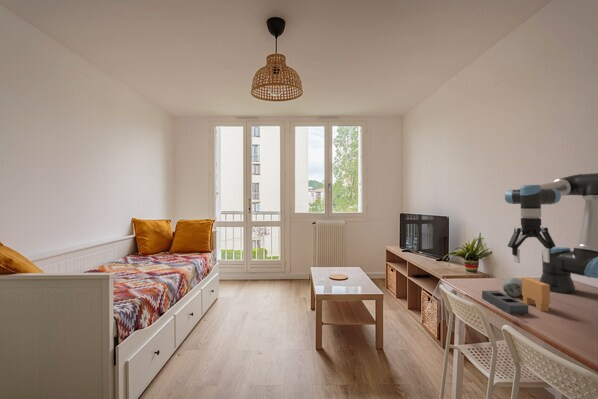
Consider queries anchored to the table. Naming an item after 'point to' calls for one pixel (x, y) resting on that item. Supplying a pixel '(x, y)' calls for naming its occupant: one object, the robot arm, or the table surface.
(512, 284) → the spool
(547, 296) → the wooden arch block
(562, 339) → the table surface
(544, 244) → the robot arm
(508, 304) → the cinder block
